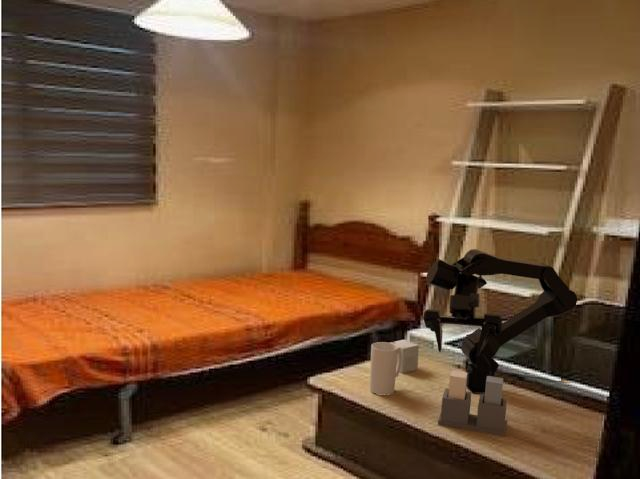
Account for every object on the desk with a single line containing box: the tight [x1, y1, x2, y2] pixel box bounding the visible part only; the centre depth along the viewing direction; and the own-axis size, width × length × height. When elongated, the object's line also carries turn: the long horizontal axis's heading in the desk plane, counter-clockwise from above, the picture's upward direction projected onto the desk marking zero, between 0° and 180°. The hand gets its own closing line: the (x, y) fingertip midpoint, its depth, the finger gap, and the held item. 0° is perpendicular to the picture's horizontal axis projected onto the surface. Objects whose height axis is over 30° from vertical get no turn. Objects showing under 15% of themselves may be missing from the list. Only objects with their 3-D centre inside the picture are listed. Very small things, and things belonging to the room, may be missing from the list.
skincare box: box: [389, 339, 420, 374], centre depth 177 cm, size 6×6×7 cm
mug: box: [369, 341, 402, 396], centre depth 161 cm, size 10×7×12 cm, turn 129°
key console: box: [437, 387, 508, 437], centre depth 143 cm, size 6×15×6 cm, turn 72°
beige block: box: [448, 370, 467, 400], centre depth 144 cm, size 4×4×7 cm
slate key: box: [484, 376, 504, 406], centre depth 141 cm, size 4×4×7 cm
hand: (458, 353), depth 150 cm, fingers open, 9 cm apart
